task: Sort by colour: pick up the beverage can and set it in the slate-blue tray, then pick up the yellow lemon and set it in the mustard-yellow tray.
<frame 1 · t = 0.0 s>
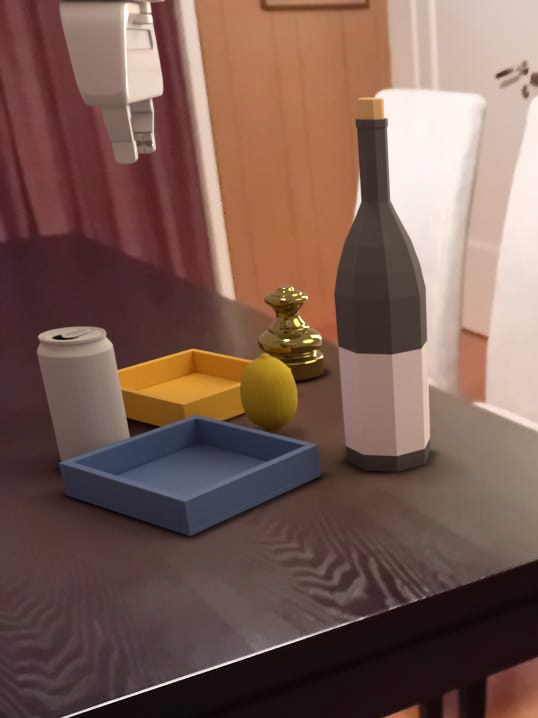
hand: (137, 158, 92), 25 cm above the table, tool pointing down, fingers open, 8 cm apart
blue tray: (195, 485, 89), on the table
lemon: (273, 435, 102), on the table
yellow tray: (192, 401, 111), on the table
beverage can: (99, 464, 95), on the table
gold chess piece: (293, 375, 120), on the table
wine bottle: (389, 459, 96), on the table
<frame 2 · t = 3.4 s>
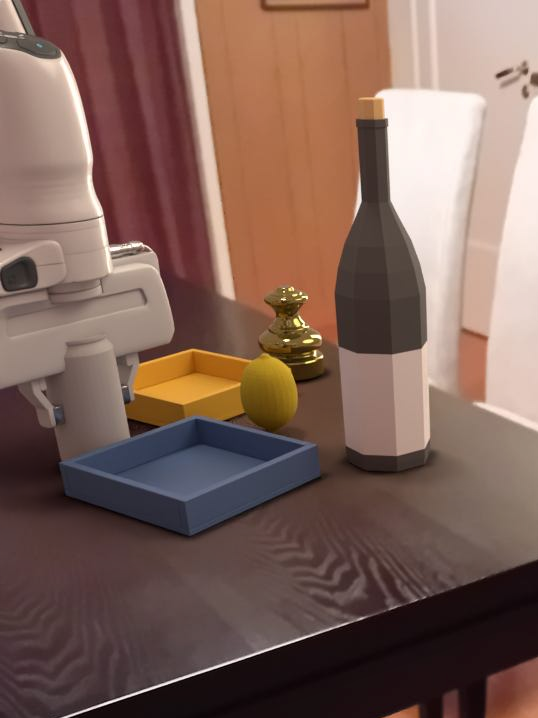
hand: (88, 414, 92), 5 cm above the table, tool pointing down, fingers closed on beverage can, 6 cm apart
beverage can: (99, 464, 95), on the table, touching gripper
everything else where it was.
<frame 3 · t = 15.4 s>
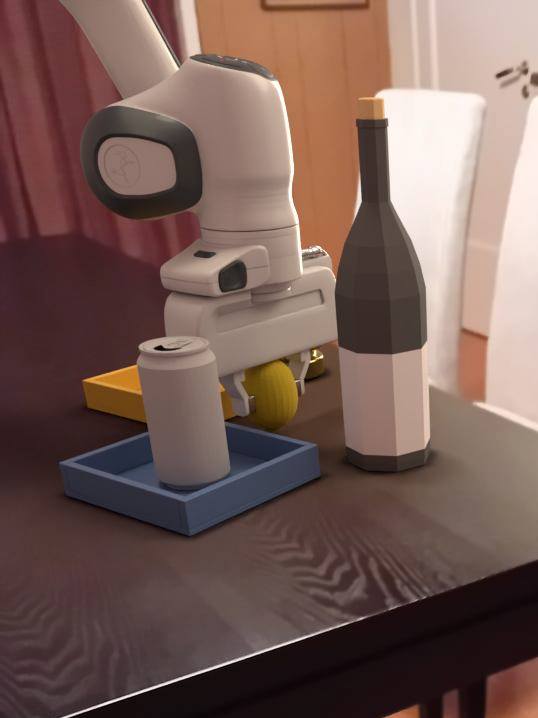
hand: (269, 405, 100), 3 cm above the table, tool pointing down, fingers closed on lemon, 5 cm apart
lemon: (273, 435, 102), on the table, touching gripper
beverage can: (195, 481, 89), resting on blue tray
everything else where it was.
when the fingers open (3 cm above the table, at t = 22.8 s): lemon stays where it is, resting on yellow tray.
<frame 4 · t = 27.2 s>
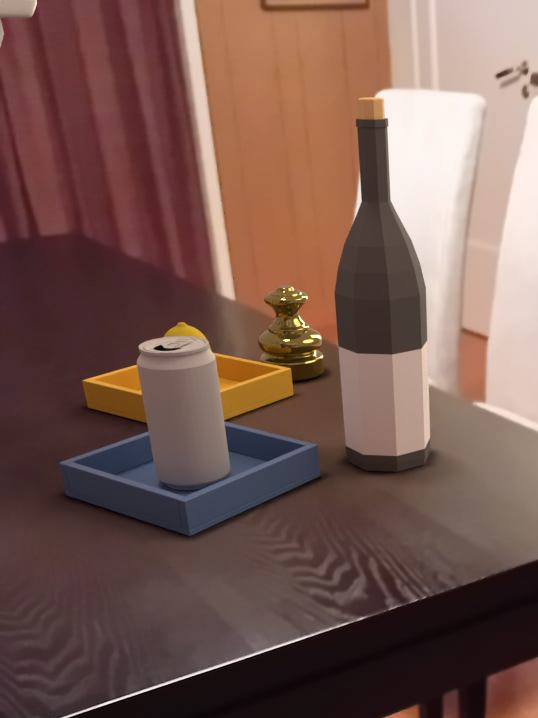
lemon: (192, 398, 111), resting on yellow tray
everything else where it was.
at the end: beverage can inside the target area in the blue tray (0.1 cm from its centre), point 0.3 cm above the blue tray's base; lemon inside the target area in the yellow tray (0.1 cm from its centre), point 0.3 cm above the yellow tray's base; beverage can tilted 0° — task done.
